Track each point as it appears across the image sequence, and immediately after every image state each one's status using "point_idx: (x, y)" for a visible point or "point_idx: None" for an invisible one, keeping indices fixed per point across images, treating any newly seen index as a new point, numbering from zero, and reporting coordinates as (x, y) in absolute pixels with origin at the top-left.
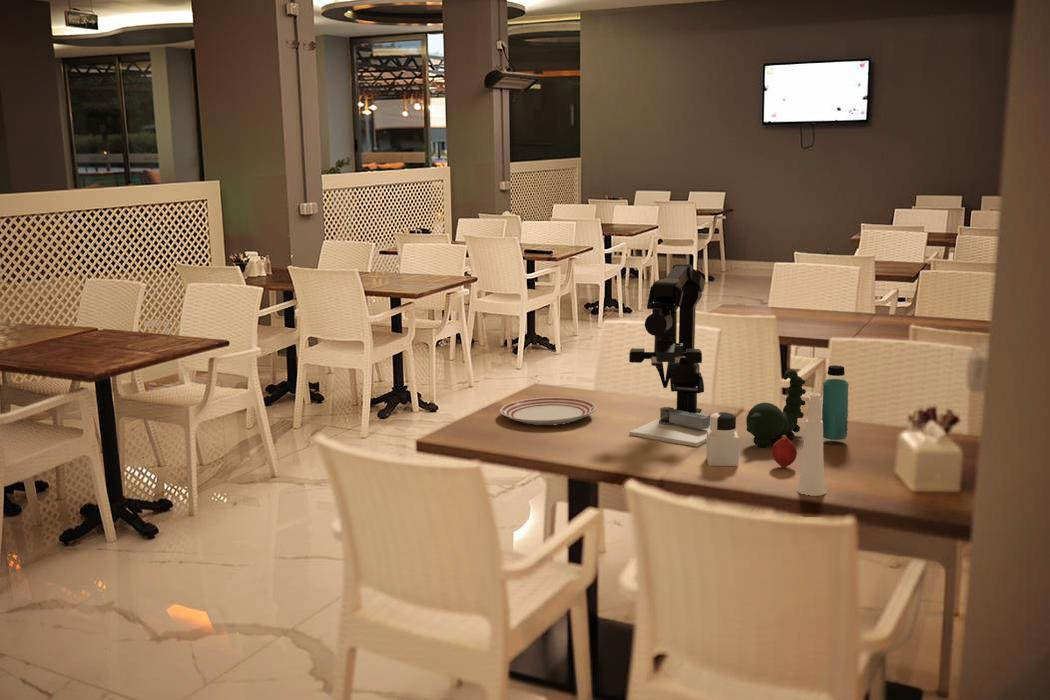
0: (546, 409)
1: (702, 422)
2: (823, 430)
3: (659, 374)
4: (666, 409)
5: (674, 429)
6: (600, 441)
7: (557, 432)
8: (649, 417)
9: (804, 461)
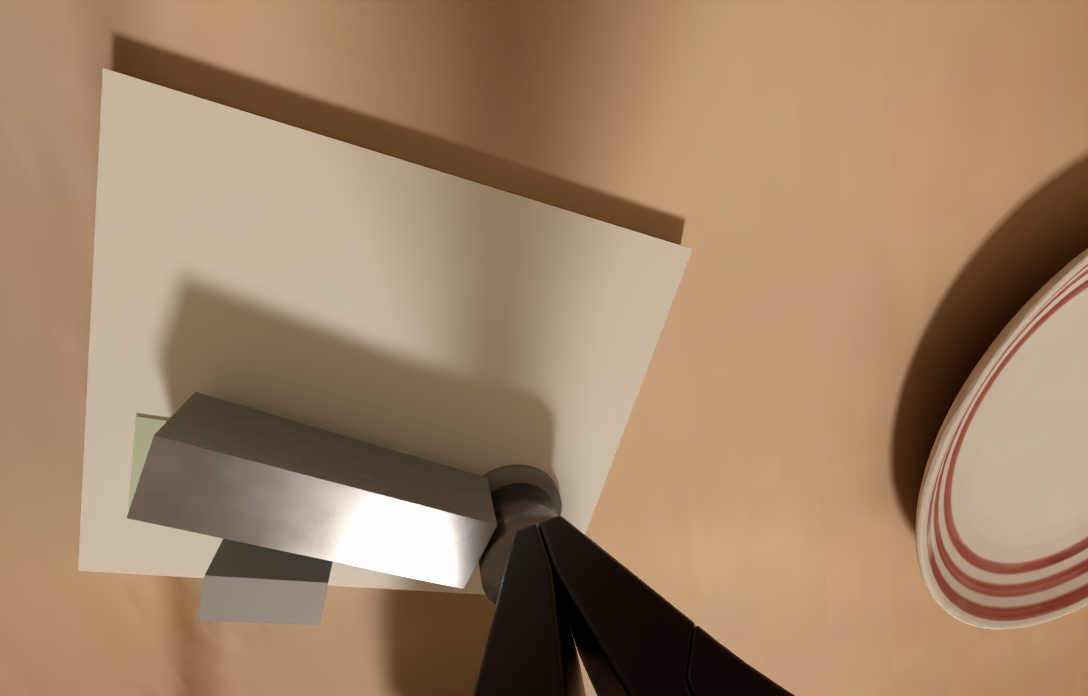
0: (1078, 501)
1: (167, 422)
2: None
3: (736, 657)
4: None
5: (424, 391)
6: (835, 34)
7: (1055, 169)
8: None
9: None
